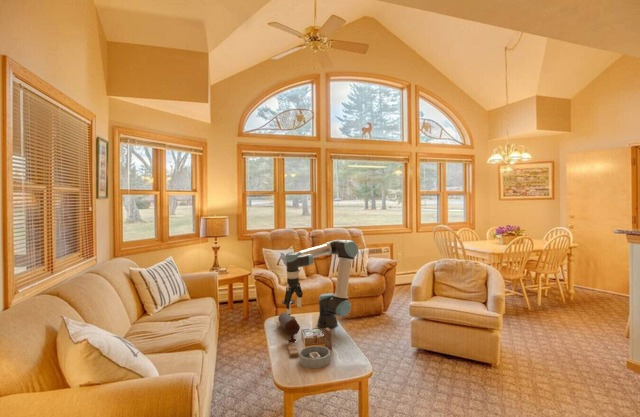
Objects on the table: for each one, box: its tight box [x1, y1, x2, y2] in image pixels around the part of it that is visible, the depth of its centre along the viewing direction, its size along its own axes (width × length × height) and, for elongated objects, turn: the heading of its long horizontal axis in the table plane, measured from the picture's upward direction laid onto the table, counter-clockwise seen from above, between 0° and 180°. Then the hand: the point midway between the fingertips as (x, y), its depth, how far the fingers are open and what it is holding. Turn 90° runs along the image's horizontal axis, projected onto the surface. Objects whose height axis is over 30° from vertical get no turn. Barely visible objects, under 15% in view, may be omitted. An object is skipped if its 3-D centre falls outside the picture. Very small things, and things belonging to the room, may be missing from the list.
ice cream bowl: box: [283, 318, 301, 343], centre depth 225 cm, size 11×11×15 cm
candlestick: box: [281, 283, 297, 320], centre depth 267 cm, size 11×11×35 cm
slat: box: [287, 344, 300, 358], centre depth 208 cm, size 12×5×2 cm, turn 13°
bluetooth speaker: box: [278, 312, 292, 329], centre depth 245 cm, size 23×9×10 cm, turn 21°
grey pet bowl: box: [298, 345, 331, 369], centre depth 196 cm, size 18×18×5 cm
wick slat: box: [323, 328, 333, 351], centre depth 213 cm, size 2×5×12 cm, turn 23°
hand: (294, 310), depth 217 cm, fingers open, 13 cm apart
